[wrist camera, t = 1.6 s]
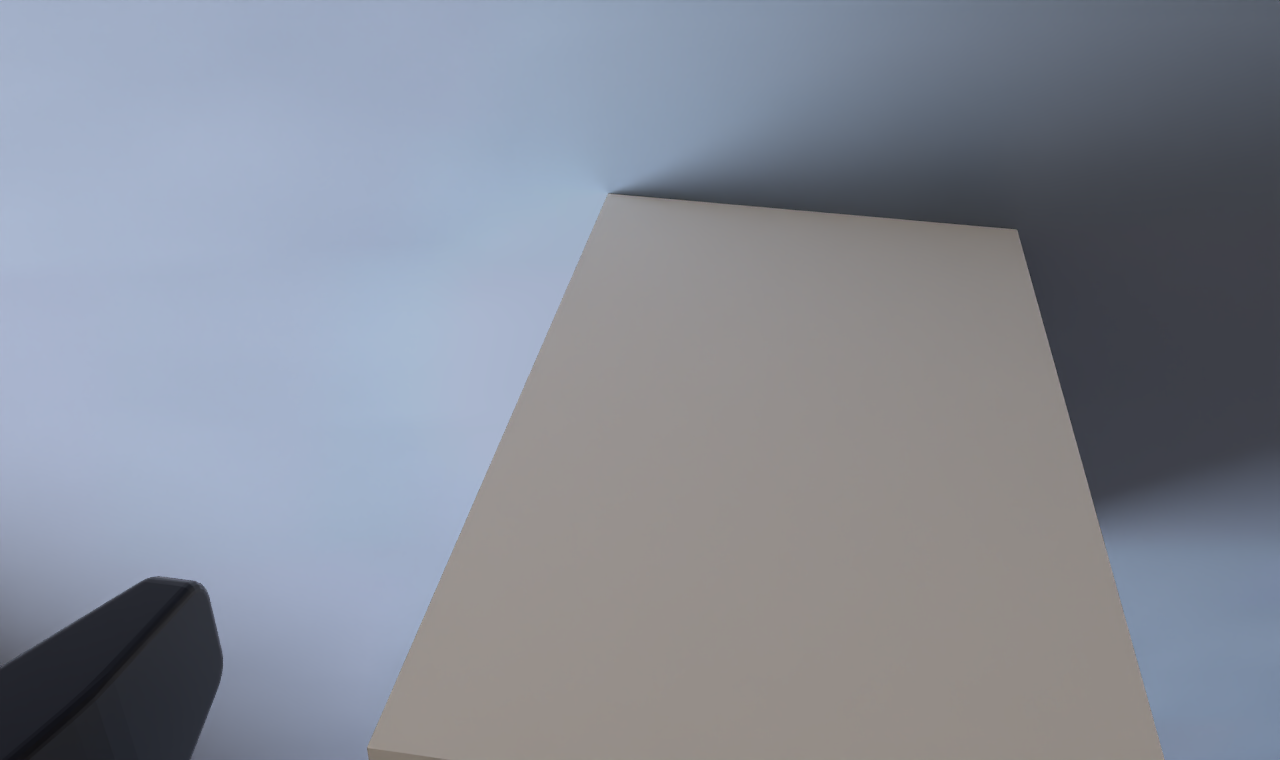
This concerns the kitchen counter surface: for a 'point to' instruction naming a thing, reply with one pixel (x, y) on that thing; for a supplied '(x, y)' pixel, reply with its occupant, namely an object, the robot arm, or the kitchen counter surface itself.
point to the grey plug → (780, 514)
